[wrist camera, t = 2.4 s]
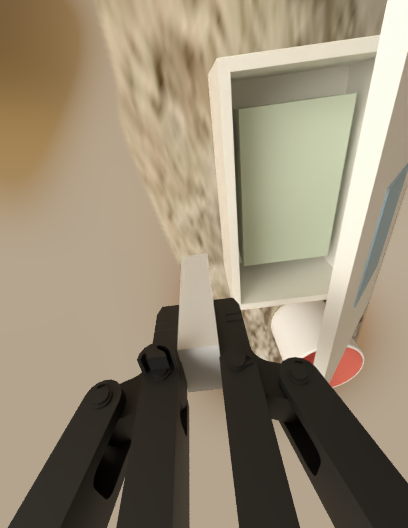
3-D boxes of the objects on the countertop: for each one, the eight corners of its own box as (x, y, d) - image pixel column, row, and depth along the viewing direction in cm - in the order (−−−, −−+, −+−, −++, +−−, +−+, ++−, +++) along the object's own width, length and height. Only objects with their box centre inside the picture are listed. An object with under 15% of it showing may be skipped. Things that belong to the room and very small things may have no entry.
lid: (305, 403, 19) (317, 410, 18) (397, -49, 6) (442, -67, 6) (360, 299, 27) (369, 302, 26) (445, 18, 15) (465, 13, 14)
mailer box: (224, 267, 35) (234, 310, 27) (207, 75, 23) (217, 57, 16) (322, 254, 35) (359, 295, 27) (355, 54, 23) (438, 26, 15)
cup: (313, 338, 44) (342, 392, 36) (261, 334, 43) (279, 389, 35) (339, 296, 39) (380, 348, 31) (280, 290, 38) (307, 341, 29)
